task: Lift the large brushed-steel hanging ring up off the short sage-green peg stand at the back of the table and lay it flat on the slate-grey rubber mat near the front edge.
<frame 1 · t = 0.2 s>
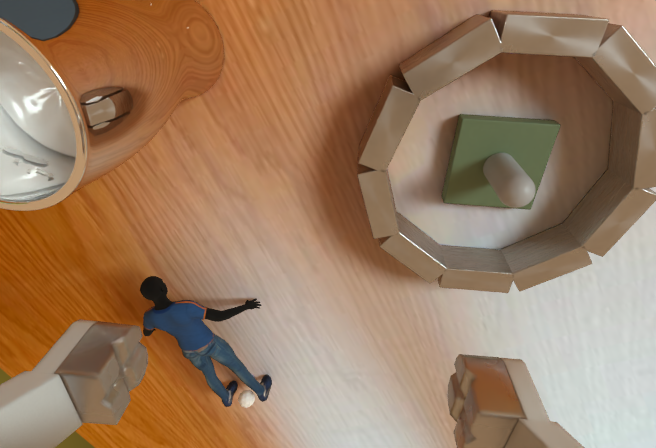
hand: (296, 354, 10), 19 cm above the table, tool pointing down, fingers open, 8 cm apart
person figurine: (217, 323, 37), on the table
peg stand: (494, 160, 27), on the table
brown wooden rounded piece: (177, 46, 25), on the table
ring: (494, 160, 27), on the table
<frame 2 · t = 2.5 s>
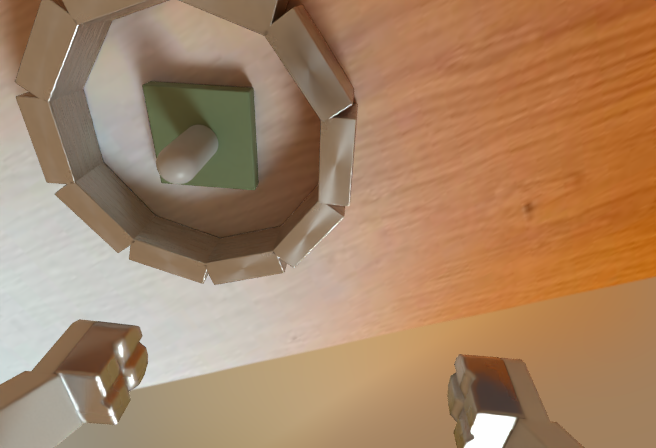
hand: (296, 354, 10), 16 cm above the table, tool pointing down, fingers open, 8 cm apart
peg stand: (207, 135, 24), on the table
ring: (207, 135, 24), on the table
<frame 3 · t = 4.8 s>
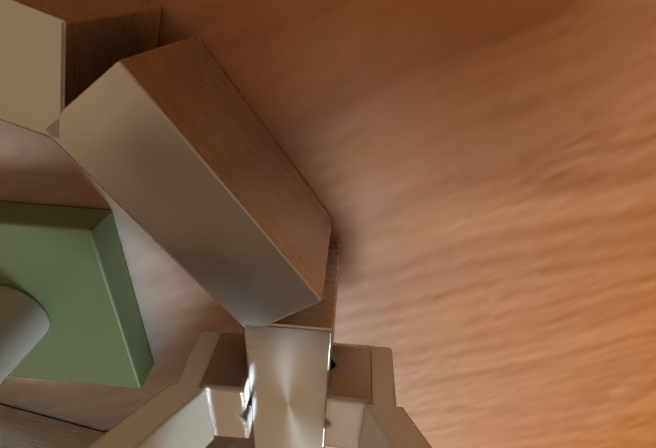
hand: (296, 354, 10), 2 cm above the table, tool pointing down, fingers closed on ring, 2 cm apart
peg stand: (39, 288, 12), on the table
ring: (40, 288, 12), on the table, touching gripper
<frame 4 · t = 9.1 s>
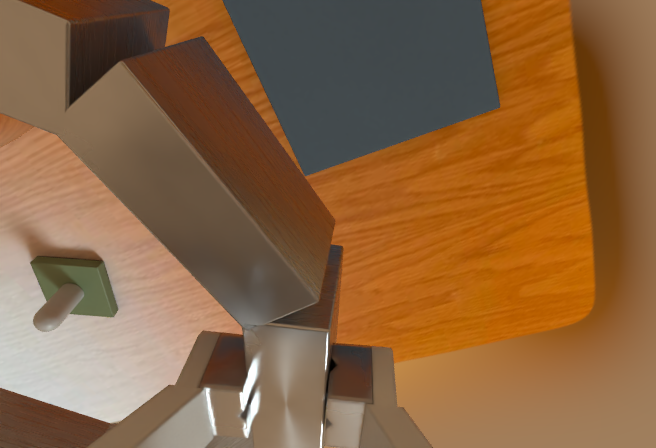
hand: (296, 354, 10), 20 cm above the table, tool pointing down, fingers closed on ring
peg stand: (79, 284, 37), on the table
brown wooden rounded piece: (82, 41, 26), on the table
ring: (52, 280, 12), point 18 cm above the table, touching gripper
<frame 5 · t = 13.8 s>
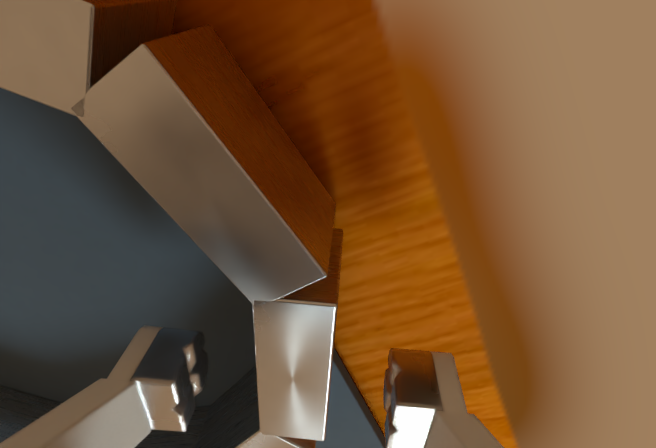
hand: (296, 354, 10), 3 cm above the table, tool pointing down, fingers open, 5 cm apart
mat: (63, 265, 13), on the table
ring: (51, 271, 12), point 1 cm above the table, touching mat
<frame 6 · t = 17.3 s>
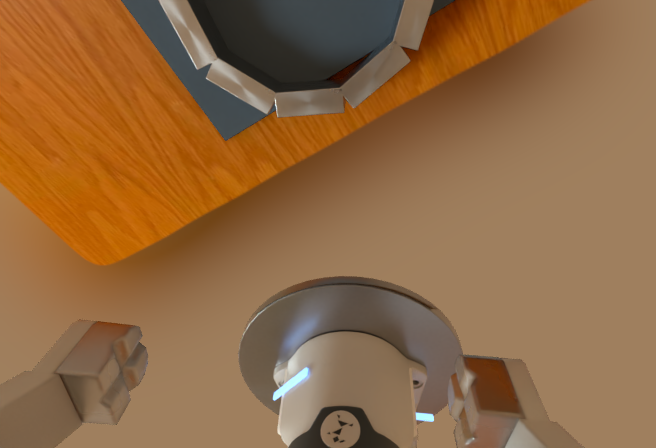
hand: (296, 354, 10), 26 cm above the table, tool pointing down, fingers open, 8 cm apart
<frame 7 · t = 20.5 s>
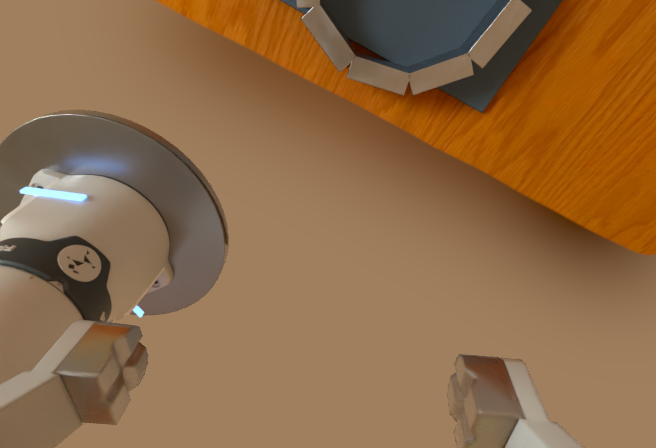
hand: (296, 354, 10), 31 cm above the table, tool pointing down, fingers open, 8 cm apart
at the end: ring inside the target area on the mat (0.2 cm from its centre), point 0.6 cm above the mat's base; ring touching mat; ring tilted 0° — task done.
